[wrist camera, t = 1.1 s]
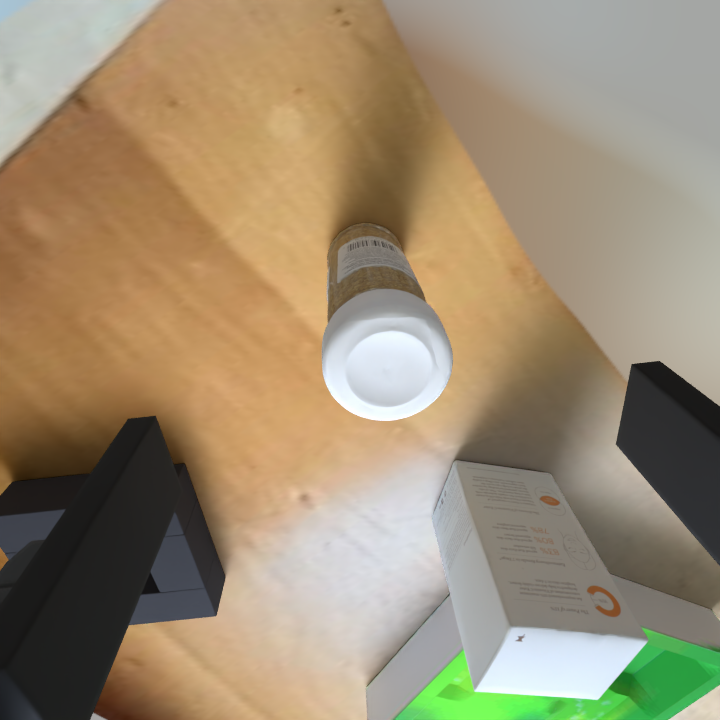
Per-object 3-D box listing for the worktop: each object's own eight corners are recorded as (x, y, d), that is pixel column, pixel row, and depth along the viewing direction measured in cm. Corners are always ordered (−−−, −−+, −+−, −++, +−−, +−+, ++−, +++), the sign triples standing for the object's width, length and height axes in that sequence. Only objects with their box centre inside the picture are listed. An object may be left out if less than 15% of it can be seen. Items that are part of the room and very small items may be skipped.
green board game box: (365, 688, 49) (368, 745, 45) (502, 535, 39) (523, 589, 35) (552, 731, 55) (570, 785, 51) (711, 609, 45) (751, 663, 41)
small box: (429, 517, 38) (470, 694, 26) (453, 457, 35) (510, 626, 24) (522, 529, 39) (600, 703, 28) (552, 471, 36) (653, 639, 25)
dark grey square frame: (12, 481, 34) (-20, 517, 31) (184, 462, 34) (169, 497, 31) (78, 592, 40) (57, 632, 37) (225, 577, 40) (216, 616, 37)
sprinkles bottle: (317, 282, 28) (304, 407, 16) (341, 209, 26) (346, 289, 14) (388, 305, 29) (424, 439, 17) (416, 235, 27) (478, 331, 15)
